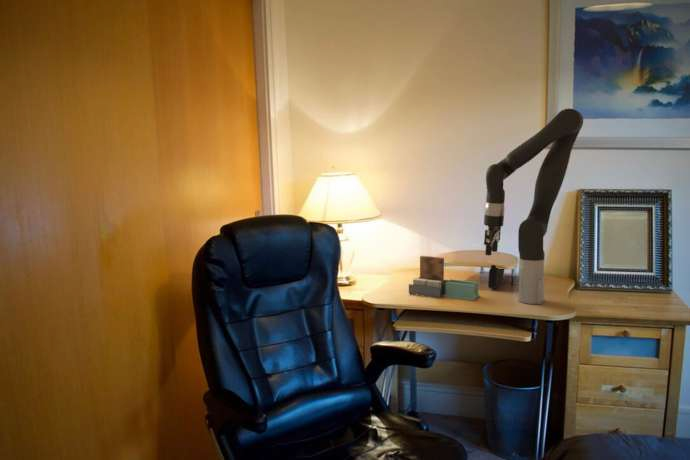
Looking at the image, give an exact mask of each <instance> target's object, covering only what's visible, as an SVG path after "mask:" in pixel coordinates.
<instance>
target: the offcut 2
mask: <svg viewBox="0 0 690 460" xmlns="http://www.w3.org/2000/svg"><path fill="white" fill-rule="evenodd" d="M441 283H442V281H437V280H427V281H426V286H428V287H436V288H441Z"/></svg>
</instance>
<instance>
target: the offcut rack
mask: <svg viewBox="0 0 690 460" xmlns="http://www.w3.org/2000/svg"><path fill="white" fill-rule="evenodd" d="M417 278H420V276H418V277H417ZM446 282H450V279H449V280H448V279H444V282H442V283H441V288H436V287H428V286H420V285H413V284H412V283H411V284H408V294H409V293H411V294H410V295H413V294H418V295H417V296H421V295H424V296H423V297H428V296H430V297H429V298H435V297H436V299H441V298H442V297H445V294H446Z"/></svg>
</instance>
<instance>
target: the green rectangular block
mask: <svg viewBox="0 0 690 460" xmlns="http://www.w3.org/2000/svg"><path fill="white" fill-rule="evenodd" d="M449 280H450V282H446V294H445V295H444V298H448V299H449V298H450V299H457V300H462V301H463V300H464V301H472V302H474V301H475V300H476V299H477V298H478V297H480V293H479V282H478V281H469V280H468V281H467V280H461V279H459V280H458V279H452V278H451V279H449Z"/></svg>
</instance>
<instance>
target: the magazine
mask: <svg viewBox="0 0 690 460" xmlns="http://www.w3.org/2000/svg"><path fill="white" fill-rule="evenodd" d="M504 273H505V270H504V269H498V268H496V266H495V265H494V264H492V265H491V266H490V268H489V270H488V281H487V282H488V285H487V287H488V288H489V289H497V287H498V286H499V285H500V284H501V282H502V280H503V277H504ZM501 279H502V280H501ZM500 281H501V282H500ZM499 283H500V284H499Z"/></svg>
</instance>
